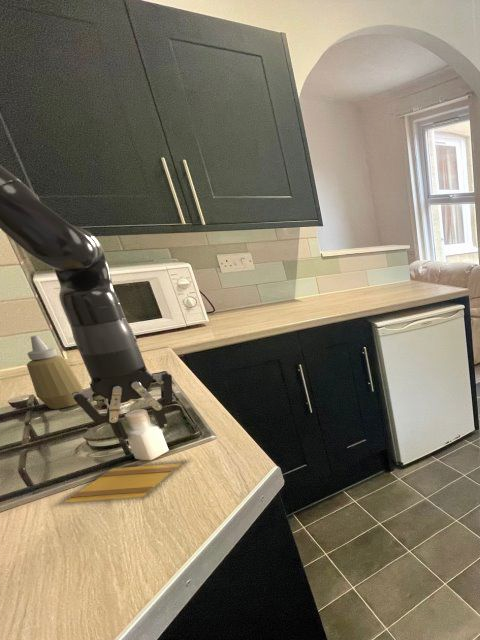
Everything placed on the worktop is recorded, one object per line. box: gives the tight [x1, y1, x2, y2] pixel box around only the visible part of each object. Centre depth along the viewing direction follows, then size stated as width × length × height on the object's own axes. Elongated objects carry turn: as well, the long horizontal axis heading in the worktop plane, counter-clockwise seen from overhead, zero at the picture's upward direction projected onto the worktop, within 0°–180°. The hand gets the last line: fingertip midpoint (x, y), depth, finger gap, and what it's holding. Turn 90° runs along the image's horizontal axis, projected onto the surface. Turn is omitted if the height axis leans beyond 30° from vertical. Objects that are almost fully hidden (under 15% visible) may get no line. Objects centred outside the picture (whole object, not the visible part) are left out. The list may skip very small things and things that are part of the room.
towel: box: [64, 463, 181, 504], centre depth 73 cm, size 12×10×1 cm
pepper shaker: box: [124, 408, 170, 461], centre depth 80 cm, size 4×4×10 cm
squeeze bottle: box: [26, 335, 83, 410], centre depth 103 cm, size 8×8×18 cm
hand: (143, 432), depth 79 cm, fingers closed on pepper shaker, 5 cm apart
